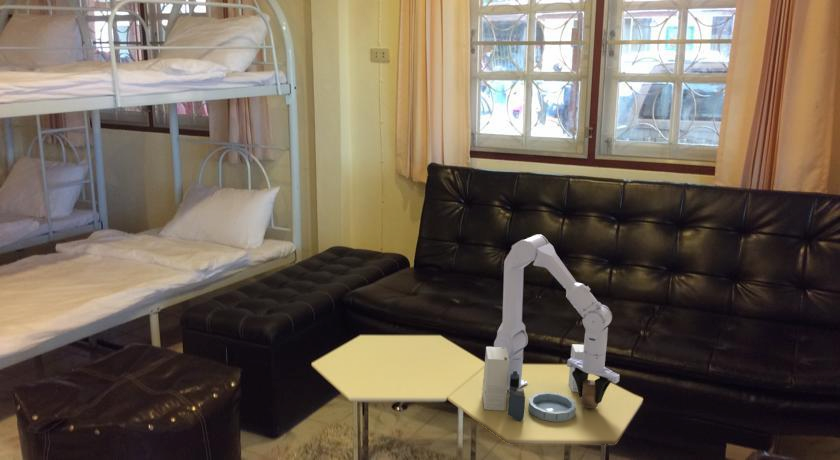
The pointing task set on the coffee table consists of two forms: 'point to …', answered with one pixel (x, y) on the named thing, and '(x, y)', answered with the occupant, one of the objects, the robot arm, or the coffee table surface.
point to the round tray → (552, 407)
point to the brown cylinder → (589, 394)
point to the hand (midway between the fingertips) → (590, 399)
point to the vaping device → (516, 398)
